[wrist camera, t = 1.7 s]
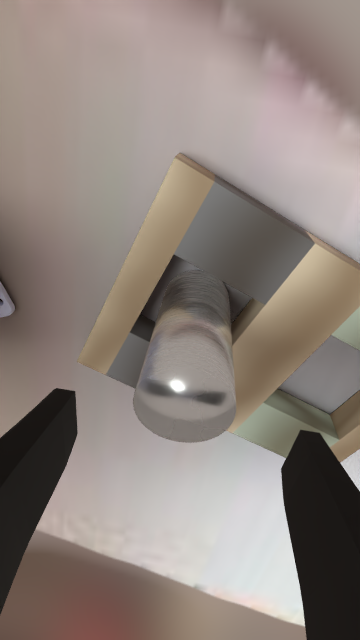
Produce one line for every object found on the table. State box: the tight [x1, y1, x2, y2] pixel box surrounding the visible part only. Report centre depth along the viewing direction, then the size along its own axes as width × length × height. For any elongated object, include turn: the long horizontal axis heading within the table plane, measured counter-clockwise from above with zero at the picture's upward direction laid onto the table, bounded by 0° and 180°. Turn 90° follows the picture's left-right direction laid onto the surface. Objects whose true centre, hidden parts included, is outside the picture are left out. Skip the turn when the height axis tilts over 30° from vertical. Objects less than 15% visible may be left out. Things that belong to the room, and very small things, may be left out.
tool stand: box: [77, 153, 360, 462], centre depth 18 cm, size 18×12×2 cm
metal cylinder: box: [133, 270, 236, 442], centre depth 15 cm, size 4×4×8 cm
